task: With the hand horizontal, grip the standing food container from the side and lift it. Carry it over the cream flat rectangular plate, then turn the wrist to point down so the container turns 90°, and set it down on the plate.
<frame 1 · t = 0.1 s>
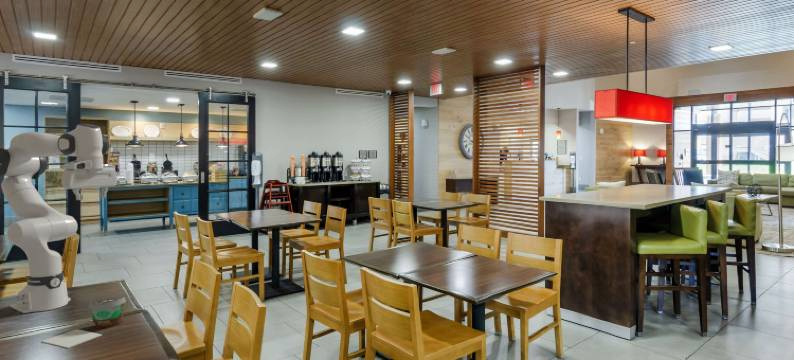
hand: (91, 198, 184), 48 cm above the table, tool pointing down, fingers open, 8 cm apart
food container: (107, 326, 176), on the table
cream flat rectangular plate: (72, 338, 164), on the table
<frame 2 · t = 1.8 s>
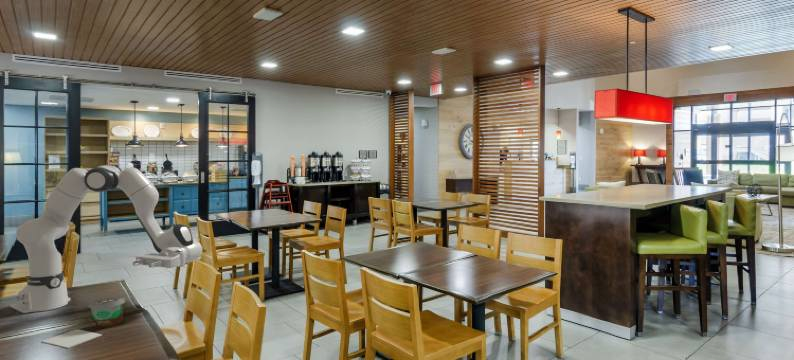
hand: (141, 264, 189), 20 cm above the table, tool horizontal, fingers open, 8 cm apart
nothing on the table moved.
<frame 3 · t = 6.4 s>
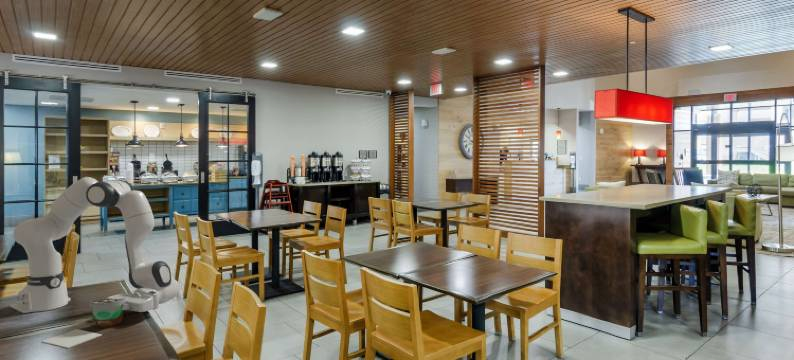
hand: (111, 308, 177), 6 cm above the table, tool horizontal, fingers open, 3 cm apart
food container: (107, 326, 176), on the table, touching gripper
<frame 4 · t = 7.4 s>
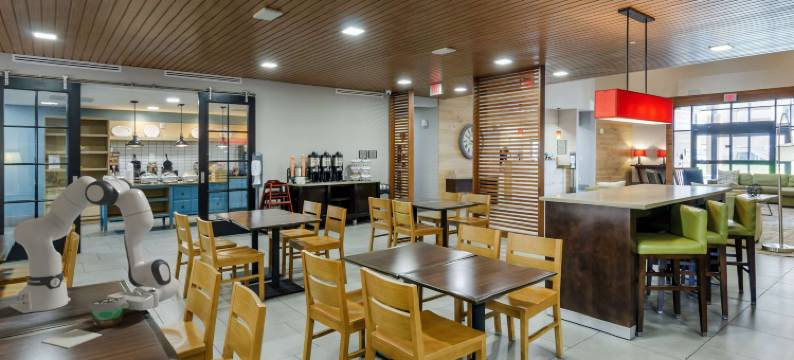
hand: (111, 306, 177), 7 cm above the table, tool horizontal, fingers closed on food container, 2 cm apart
food container: (108, 325, 176), on the table, touching gripper
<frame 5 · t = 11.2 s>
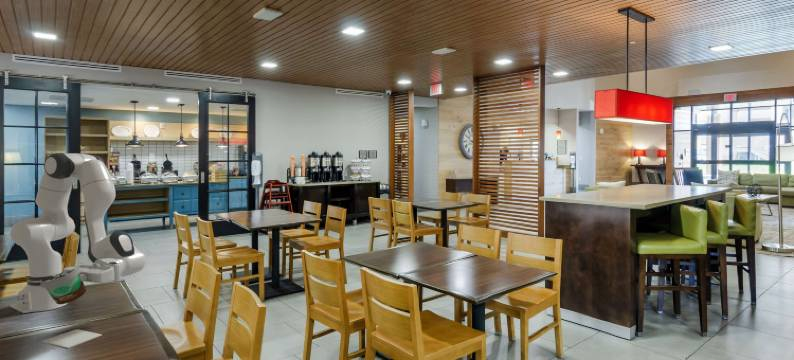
hand: (66, 279, 161), 22 cm above the table, tool horizontal, fingers closed on food container
food container: (71, 299, 162), point 15 cm above the table, touching gripper
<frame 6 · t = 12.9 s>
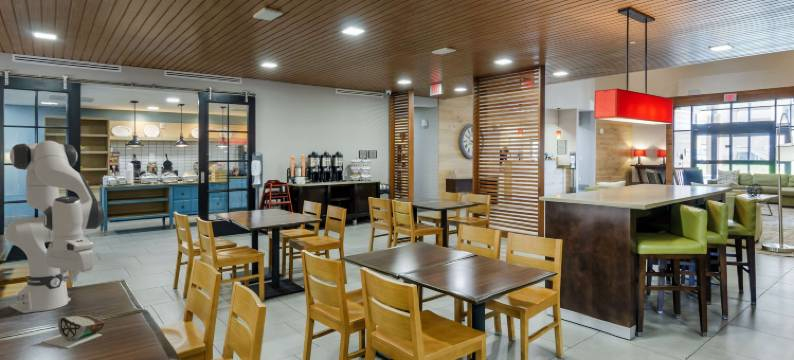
hand: (69, 281, 162), 21 cm above the table, tool pointing down, fingers closed
food container: (94, 326, 170), point 2 cm above the table, touching cream flat rectangular plate
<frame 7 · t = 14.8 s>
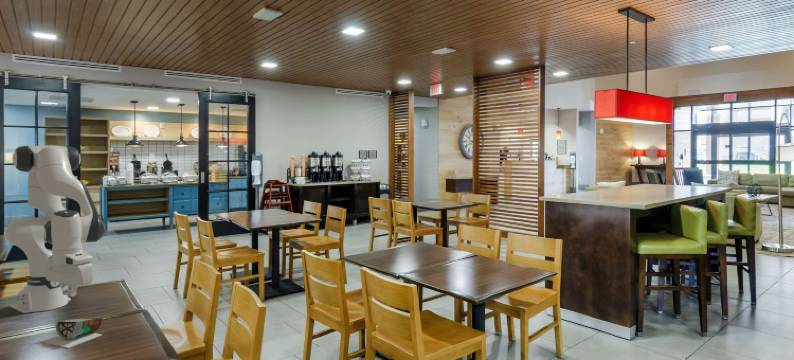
hand: (69, 295, 162), 16 cm above the table, tool pointing down, fingers closed
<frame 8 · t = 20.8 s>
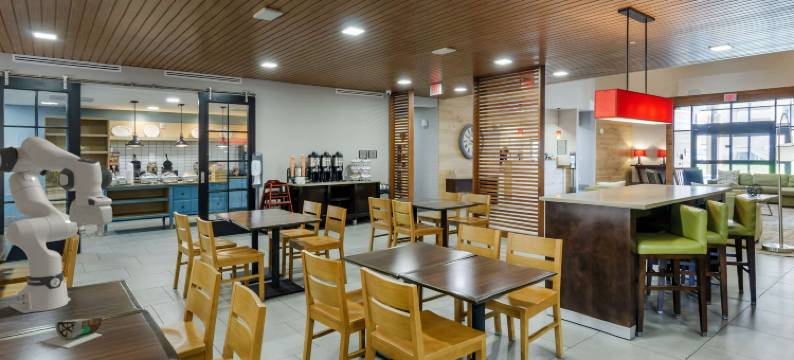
hand: (90, 234, 181), 34 cm above the table, tool pointing down, fingers open, 8 cm apart
nothing on the table moved.
at the end: food container tilted 79°; food container inside the target area (7.1 cm from its centre), point 1.8 cm above the table; the gripper is holding nothing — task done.
